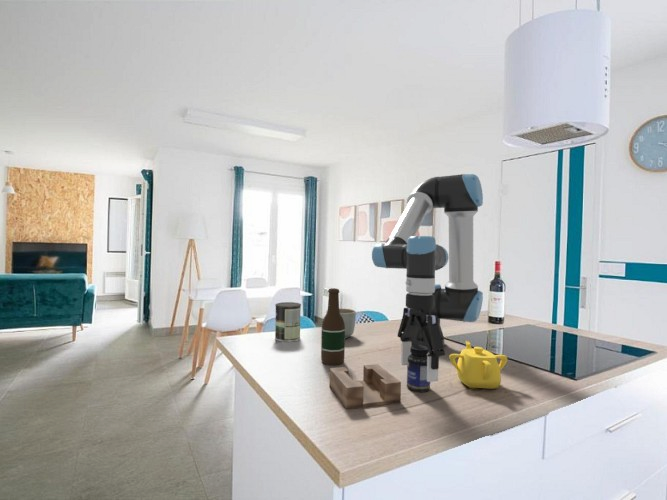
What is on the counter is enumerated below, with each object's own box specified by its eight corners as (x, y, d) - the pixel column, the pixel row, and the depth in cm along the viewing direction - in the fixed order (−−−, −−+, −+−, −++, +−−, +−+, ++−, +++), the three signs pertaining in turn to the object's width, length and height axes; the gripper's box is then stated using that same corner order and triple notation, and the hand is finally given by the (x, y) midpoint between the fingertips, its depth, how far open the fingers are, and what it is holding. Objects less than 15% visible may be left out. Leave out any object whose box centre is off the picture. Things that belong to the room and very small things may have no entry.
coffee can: (271, 341, 144) (272, 305, 144) (279, 335, 154) (279, 301, 154) (297, 342, 143) (297, 306, 143) (302, 336, 153) (303, 302, 153)
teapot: (441, 381, 104) (442, 345, 104) (465, 371, 112) (466, 338, 112) (488, 397, 93) (489, 357, 93) (511, 385, 102) (512, 348, 101)
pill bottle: (402, 385, 100) (403, 345, 100) (420, 382, 103) (421, 343, 102) (415, 394, 95) (416, 351, 94) (435, 390, 97) (435, 349, 97)
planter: (324, 333, 159) (325, 308, 158) (352, 333, 160) (353, 308, 160) (327, 340, 146) (327, 313, 146) (357, 340, 148) (358, 313, 148)
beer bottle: (342, 366, 115) (343, 290, 115) (318, 364, 117) (319, 289, 116) (346, 359, 123) (347, 287, 122) (323, 357, 124) (324, 287, 124)
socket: (377, 381, 103) (377, 364, 103) (400, 402, 89) (400, 382, 89) (329, 386, 98) (329, 368, 98) (346, 409, 85) (346, 387, 85)
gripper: (387, 288, 109) (385, 359, 109) (433, 300, 85) (431, 390, 85) (409, 288, 111) (408, 357, 111) (461, 299, 87) (459, 388, 87)
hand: (418, 372), depth 98 cm, fingers open, 13 cm apart
